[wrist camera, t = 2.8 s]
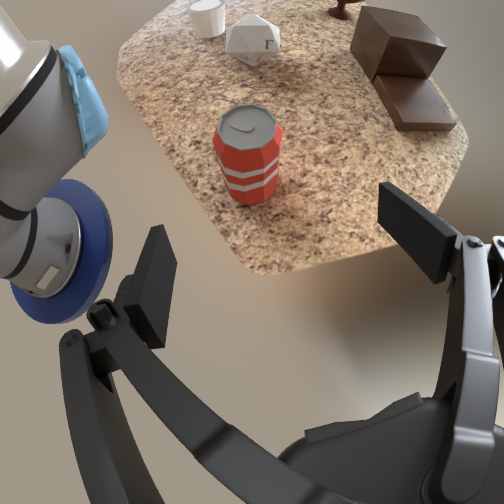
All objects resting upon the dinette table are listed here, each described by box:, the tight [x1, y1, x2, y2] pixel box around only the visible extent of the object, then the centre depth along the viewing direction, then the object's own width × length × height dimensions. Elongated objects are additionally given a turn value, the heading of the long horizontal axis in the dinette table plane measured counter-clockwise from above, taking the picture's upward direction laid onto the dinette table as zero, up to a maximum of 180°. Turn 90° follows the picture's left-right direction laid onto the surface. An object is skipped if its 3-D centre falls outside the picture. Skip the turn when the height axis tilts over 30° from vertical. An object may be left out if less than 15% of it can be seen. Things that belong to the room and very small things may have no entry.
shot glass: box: [187, 0, 225, 38], centre depth 38 cm, size 7×7×7 cm
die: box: [225, 13, 280, 67], centre depth 35 cm, size 8×9×10 cm
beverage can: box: [213, 103, 283, 205], centre depth 28 cm, size 6×6×12 cm
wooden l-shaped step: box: [350, 6, 457, 131], centre depth 32 cm, size 20×12×11 cm, turn 11°
